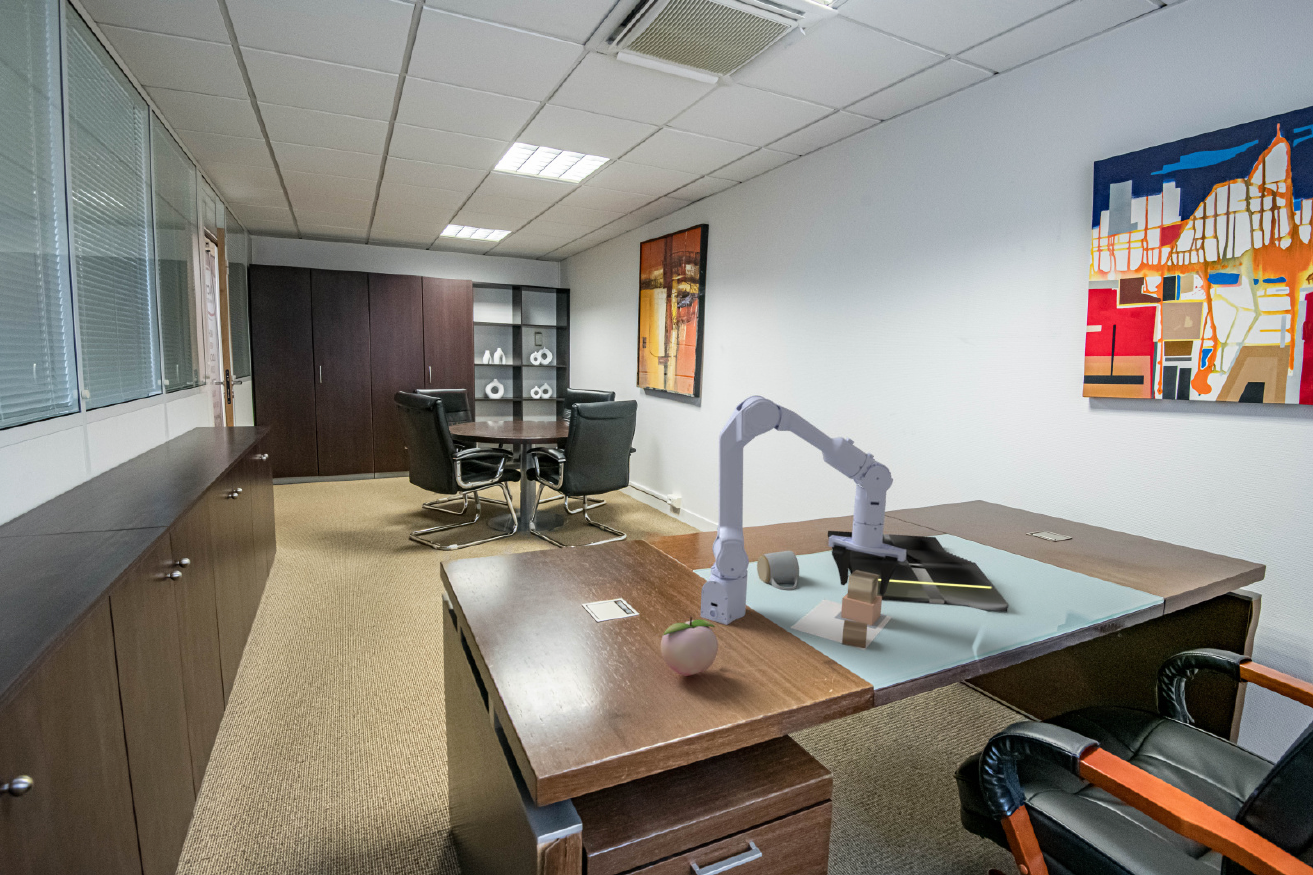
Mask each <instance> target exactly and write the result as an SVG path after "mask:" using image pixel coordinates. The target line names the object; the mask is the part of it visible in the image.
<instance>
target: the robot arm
mask: <svg viewBox="0 0 1313 875" xmlns="http://www.w3.org/2000/svg"><path fill="white" fill-rule="evenodd" d="M773 429H774V430H776V431H779V432H791V433H792V434H794V435H796V436H797V437H799V438H801V440H804V441H806V443H808V444H810V445H811V446H813V447H815V448H816V449H817V450H819V451H821V453H822V460H823V461H824V463H826V464H827V465H829V466H830V467H832V468H834V469H835V470H836V471H837V472H839V473H841V474H842V475H844V476H845V477H847V478H848V479H850V480H853V482H854V483H855V485H856V486H855V496H854V506H853V508H854V509H853V516H852V517H853V520H852V531H851V532H852V538H851V537H841V536H834V535H832V536H830V537H829V538H828V547H829V548H832V547H834V548H833V549H832V550H831V555H832V558H833V560H834V562H835V564H836V567H837V569H838V570H837V571H838V575H839V580H840V585H841V586H845V585H846V584H848V581H849V568H848V567H849V559H850V554H851V550H854V551H859V552H863V553H868V554H873V555H878V556H883V557H885V559H883V560H882V561H881V584H880V594H882V595H884V594H885V593H886V590H887V586H888V583H889V581H890V578H891V576H892V574H893V572H894V570H895V568H896V567H897V565H898V564H899V562H900V561H902V562H903V561H904V560H905V559H906V550H905V549H901V548H897V547H894V546H891V545H887V544H884V543H882V541H883V534H884V527H885V516H886V504H887V503H886V502H887V491H888V490H889V489H890V488H891V486H892V485H893V482H894V479H893V478H892V473H891V471H890V469H889V468H888V466H886V465H885V464H883V463H881V462H879V461H877V460H876V459H875V458H874V455H873V454H872V453H871V452H867V453H866V452H864V451H863V450H862V449H860V448H858V447H857V446H856V445H855V444H854V443H855V441H854V440H853V439H851V438H849V437H846V438H844V437H843V436H838V437H833V438H831V437H830V436H829V435H827V434H826V433H825V432H823V431H822V430H820V429H819V428H818V427H816V426H814V425H813V424H812V423H811V422H810V421H808V420H806V419H804V418H803V417H802V416H801V415H799V414H798V413H796V412H795V411H793V410H791V409H788V408H786V407H784V406H782V405H779V404H777V403H775V402H774V401H773V400H770V399H768V398H765V397H764V396H761V395H750V396H748V397H747V398H746V399H744V400H743V401H741V402H740V403H739V404H738V405H736V406H735V408H734V410H733V412H732V414H731V416H729V418H728V420H727V421H726V423H725V425H724V426H723V428H722V429H721V431H720V432H719V434H718V524H717V528H716V530H717V532H716V533H717V534H716V538H715V540H714V541H713V544H712V553H713V555H714V559H715V562H714V563H713V565H712V566H711V567H710V576H709V578H708V579H707V581H706V582H705V583H704V584H703V586H702V587H701V594H700V596H701V597H700V615H699V616H700V618H703V619H705V620H706V619H707V620H708V621H709V620H710V621H713V622H715V623H718V624H719V623H720V624H723V625H726V626H728V625H729V624H731V623H732V622H733V621H735V620H737V619H741V618H743V617H745V616H746V609H747V607H746V605H747V589H748V586H747V585H748V571H749V570H748V568H749V566H750V565H749V564H750V560H749V559H750V558H749V555H748V553H747V552H746V550H745V538H744V537H745V536H744V529H743V515H744V514H743V512H744V510H743V509H744V507H743V506H744V447H745V446H747V445H748V444H749V443H750V442H751V441H753V440H754V439H755V438H756V437H759V436H760V435H763V434H766V433H767V432H770V431H772V430H773Z"/></svg>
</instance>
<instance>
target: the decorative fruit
mask: <svg viewBox="0 0 1313 875" xmlns="http://www.w3.org/2000/svg"><path fill="white" fill-rule="evenodd" d="M710 627H712V628H716V626H715V625H714V624H713V623H712V622H710V621H709V620H708V619H707V620H706V619H694V620H693V616H690V617H689V621H685V622H675V623H673V624H671V625H670V626H668V627H667V628H666V629H665V631H664V633H663V634H662V637H661V639H660V640H661V641H660V652H661V655H662V659H663V660H664V662H665V663H666V665H667V666H668V668H670V669H671V670H672V671H673V672H675V673H676V674H679V675H682V676H686V677H690V676H692V675H696V674H698V673H701V672H704V671H705V670H707V669H709V668H710V667H711V666H712V665H713V663H714V661H715V659H716V657H717V654H718V651H719V650H718V648H719V643H718V642H719V641H718V638H717V636H716V635H715V633H714V631H713V630H712V628H710Z"/></svg>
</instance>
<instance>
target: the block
mask: <svg viewBox="0 0 1313 875" xmlns="http://www.w3.org/2000/svg"><path fill="white" fill-rule="evenodd" d="M866 635H867V623H861V622H855V621H849V620H844V627H843V637H842V643H841V644H842V645H845V646H849V647H853V646H854V647H853V648H857V647H860V648H866ZM860 648H859V649H860ZM866 649H867V648H866Z"/></svg>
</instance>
